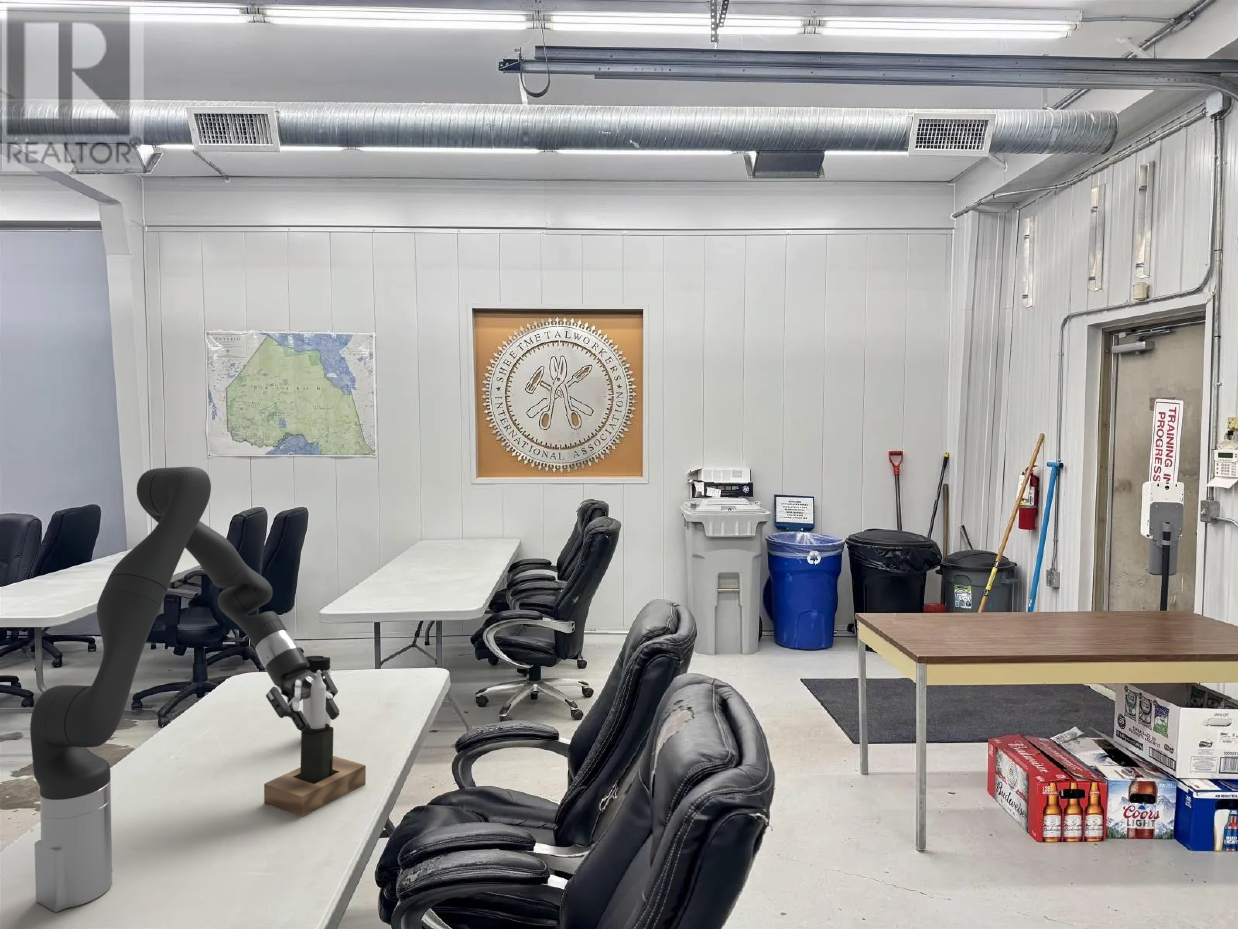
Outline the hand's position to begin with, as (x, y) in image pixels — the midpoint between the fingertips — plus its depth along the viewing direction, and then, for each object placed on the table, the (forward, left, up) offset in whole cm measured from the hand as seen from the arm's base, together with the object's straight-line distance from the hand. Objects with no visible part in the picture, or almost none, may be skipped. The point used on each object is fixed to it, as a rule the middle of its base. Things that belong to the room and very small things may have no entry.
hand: (321, 723), depth 156 cm
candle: (0, +2, -15) cm, 15 cm away
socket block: (0, +2, -15) cm, 15 cm away
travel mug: (+20, +25, -15) cm, 35 cm away
